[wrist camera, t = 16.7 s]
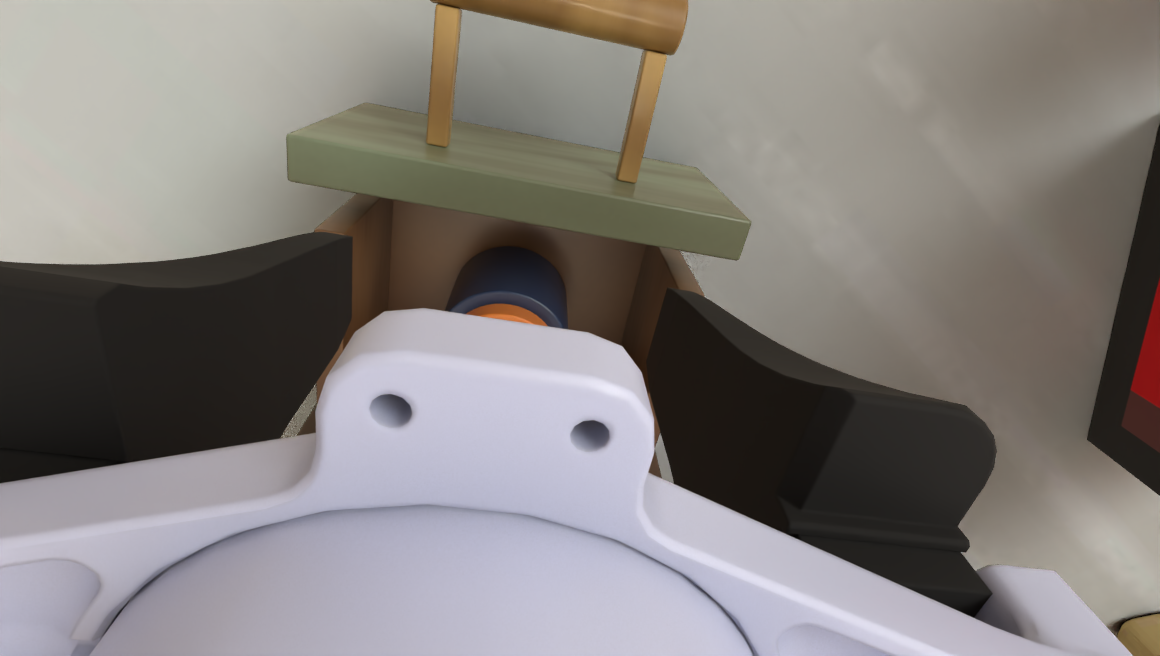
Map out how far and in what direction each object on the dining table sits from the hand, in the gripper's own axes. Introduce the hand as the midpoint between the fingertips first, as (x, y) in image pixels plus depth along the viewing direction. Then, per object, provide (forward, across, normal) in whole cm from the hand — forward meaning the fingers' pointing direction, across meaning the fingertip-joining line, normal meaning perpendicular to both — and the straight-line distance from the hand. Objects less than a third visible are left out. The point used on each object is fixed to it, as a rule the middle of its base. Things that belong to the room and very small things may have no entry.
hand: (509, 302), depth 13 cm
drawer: (+10, 0, +2) cm, 10 cm away
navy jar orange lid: (+9, 0, +4) cm, 9 cm away
